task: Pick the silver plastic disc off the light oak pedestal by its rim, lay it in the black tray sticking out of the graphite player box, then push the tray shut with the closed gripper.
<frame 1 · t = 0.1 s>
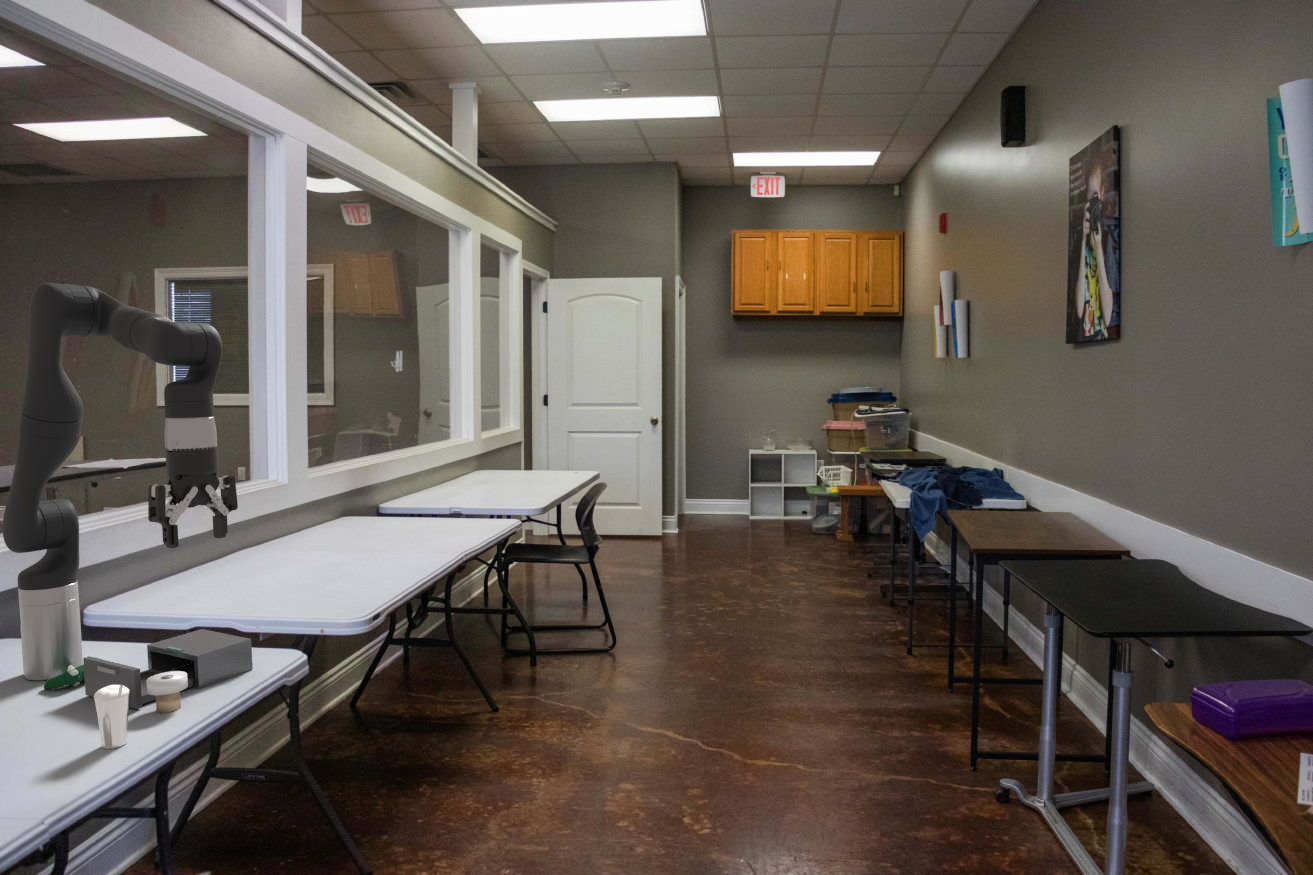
hand: (196, 542, 139), 29 cm above the table, fingers open, 8 cm apart
pedestal: (168, 708, 143), on the table
disc: (167, 688, 143), point 3 cm above the table, touching pedestal
milkshake: (116, 746, 129), on the table
green toy: (77, 684, 156), on the table
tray: (139, 673, 150), point 4 cm above the table, slide at 10.0 cm
player: (199, 673, 160), on the table
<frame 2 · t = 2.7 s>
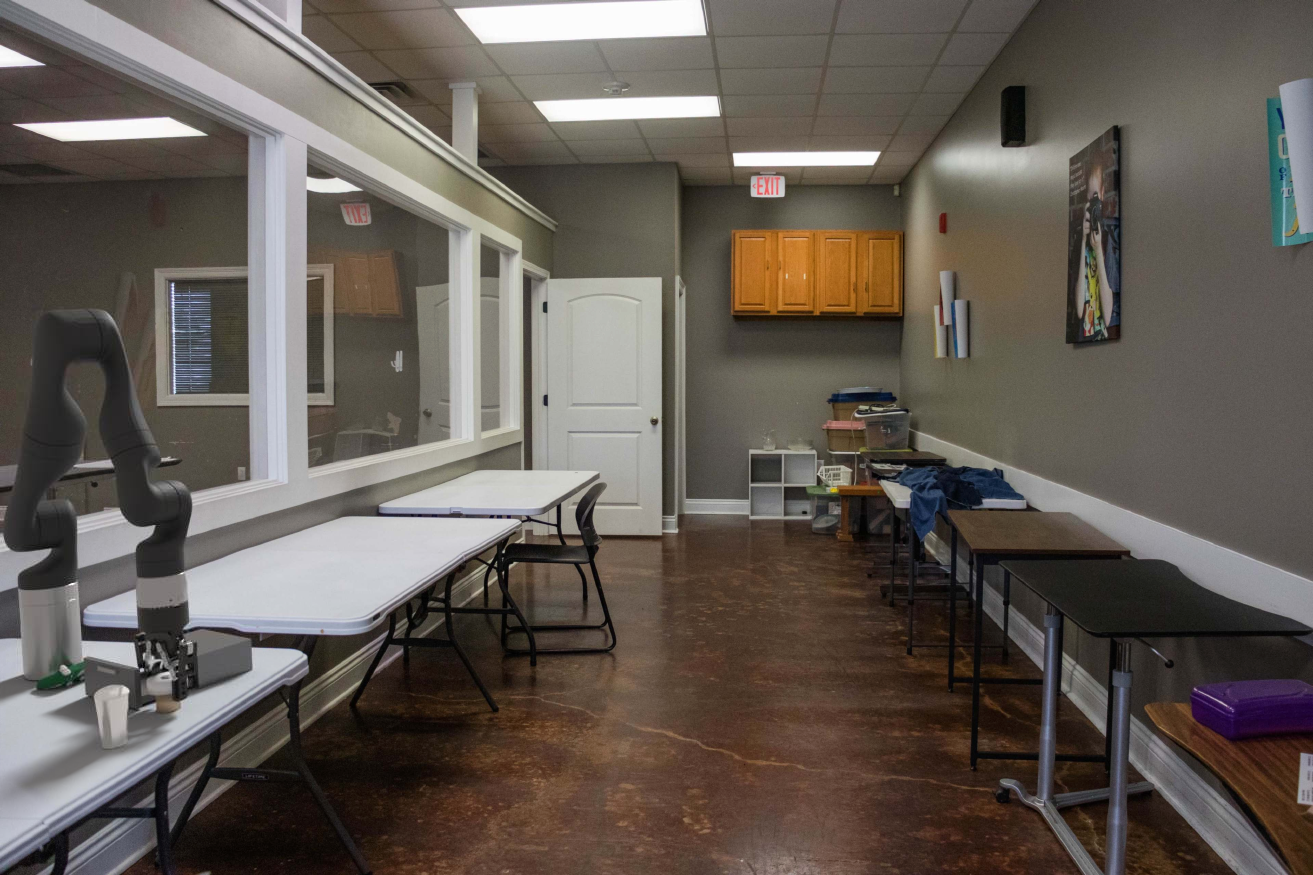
hand: (168, 696, 143), 2 cm above the table, fingers closed on disc, 6 cm apart
disc: (167, 688, 143), point 4 cm above the table, touching gripper, pedestal
green toy: (70, 684, 156), on the table
everything else where it was.
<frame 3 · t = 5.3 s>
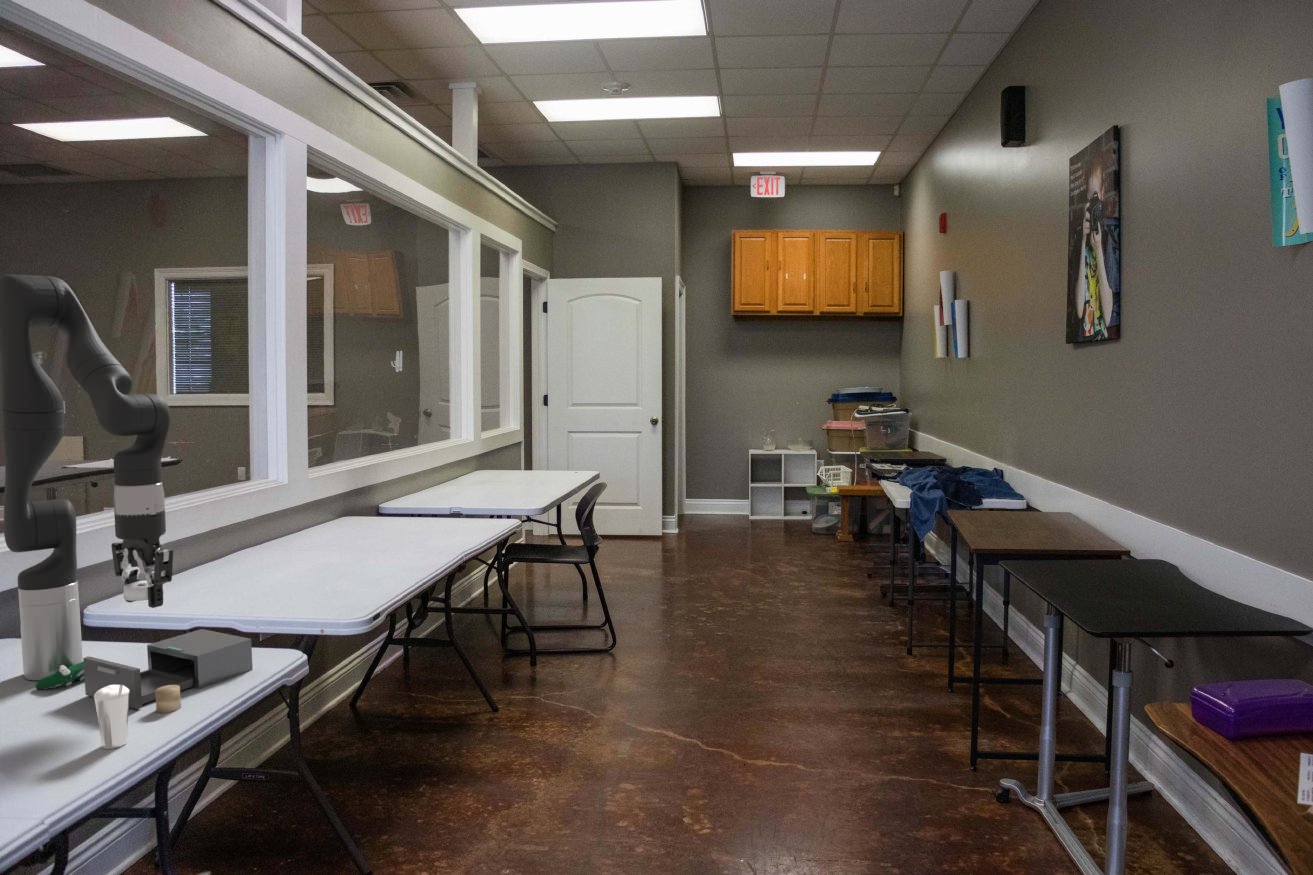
hand: (144, 603, 147), 17 cm above the table, fingers closed on disc, 6 cm apart
disc: (144, 595, 147), point 18 cm above the table, touching gripper
everything else where it was.
when the fingers open (1 cm above the table, at t = 8.1 s): disc drops 2 cm, resting on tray.
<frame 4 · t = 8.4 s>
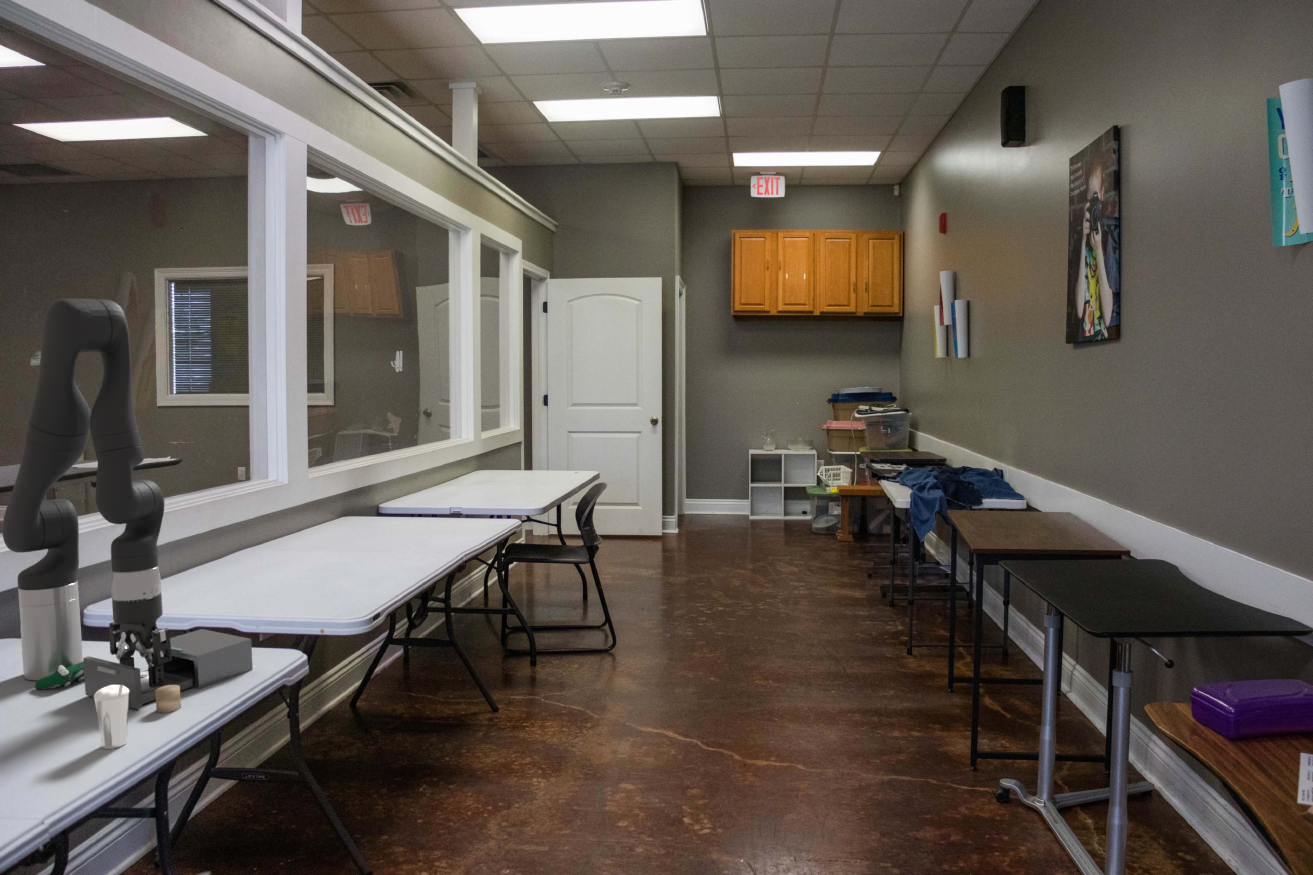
hand: (142, 682, 151), 2 cm above the table, fingers open, 8 cm apart
disc: (142, 687, 151), point 1 cm above the table, touching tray
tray: (139, 673, 150), point 4 cm above the table, slide at 10.0 cm, touching disc
everything else where it was.
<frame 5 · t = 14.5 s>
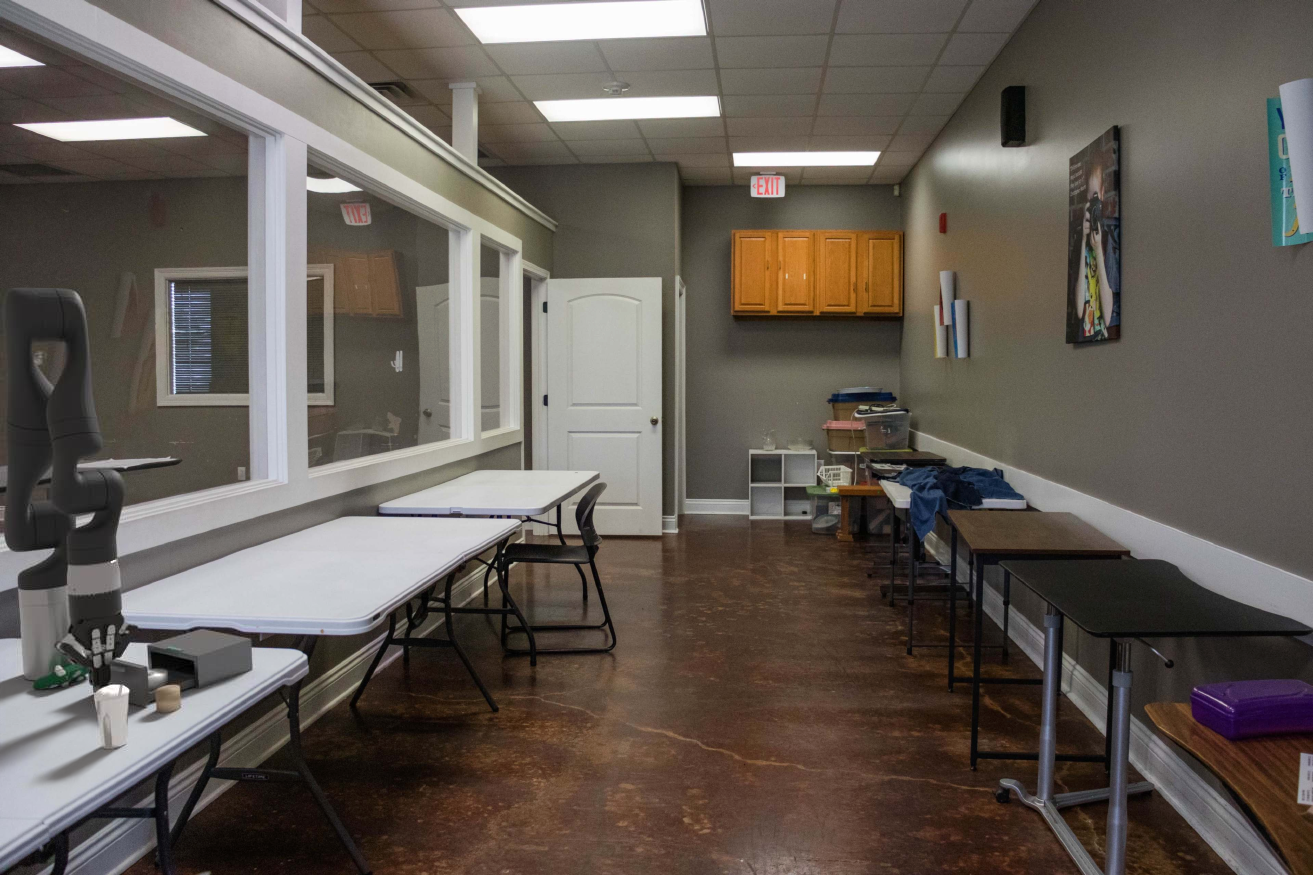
hand: (100, 686, 144), 3 cm above the table, fingers closed
disc: (149, 685, 152), point 1 cm above the table, touching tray
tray: (146, 670, 151), point 4 cm above the table, slide at 8.7 cm, touching disc, gripper
everything else where it was.
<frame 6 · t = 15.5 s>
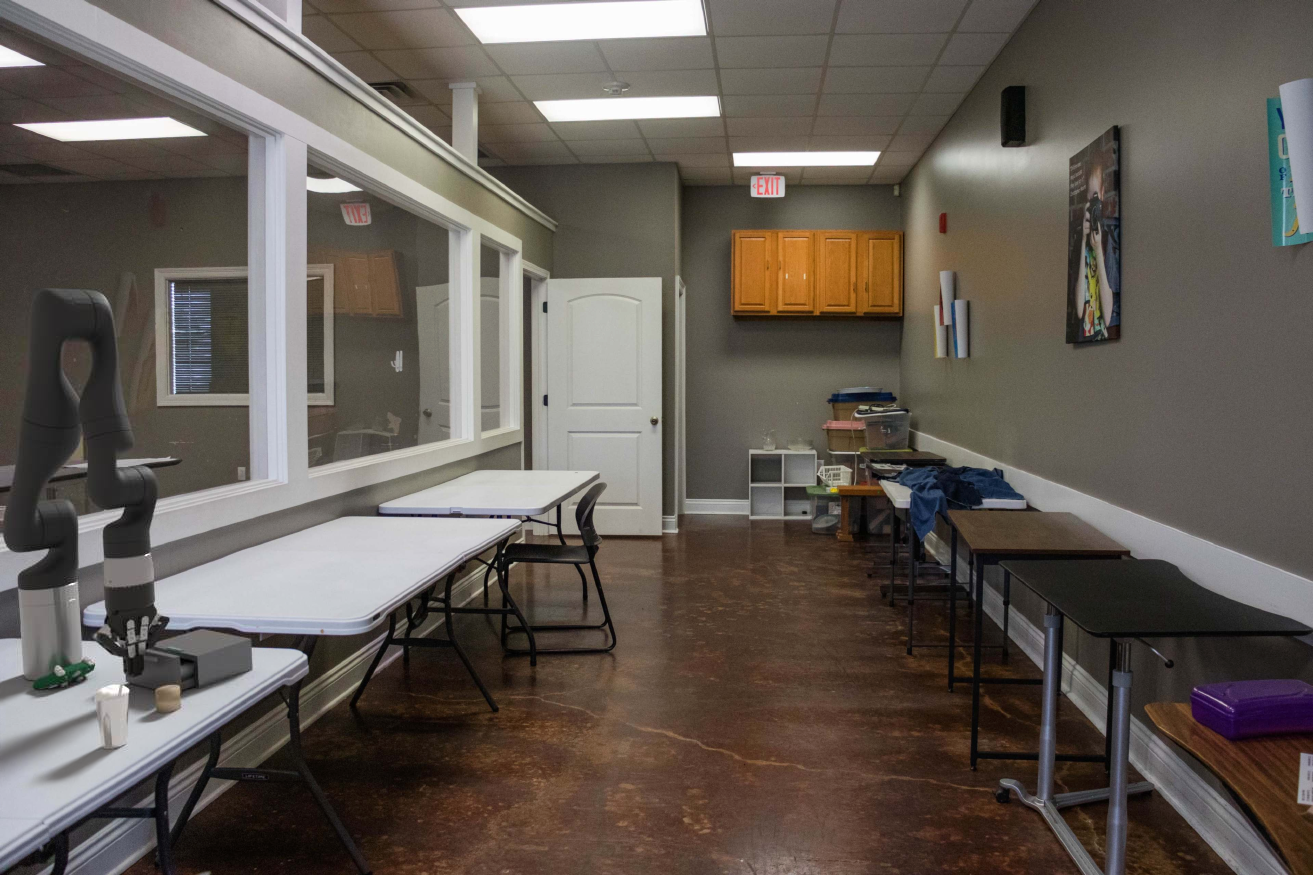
hand: (134, 675, 149), 3 cm above the table, fingers closed
disc: (179, 674, 157), point 1 cm above the table, touching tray
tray: (177, 661, 156), point 4 cm above the table, slide at 2.9 cm, touching disc, gripper
everything else where it was.
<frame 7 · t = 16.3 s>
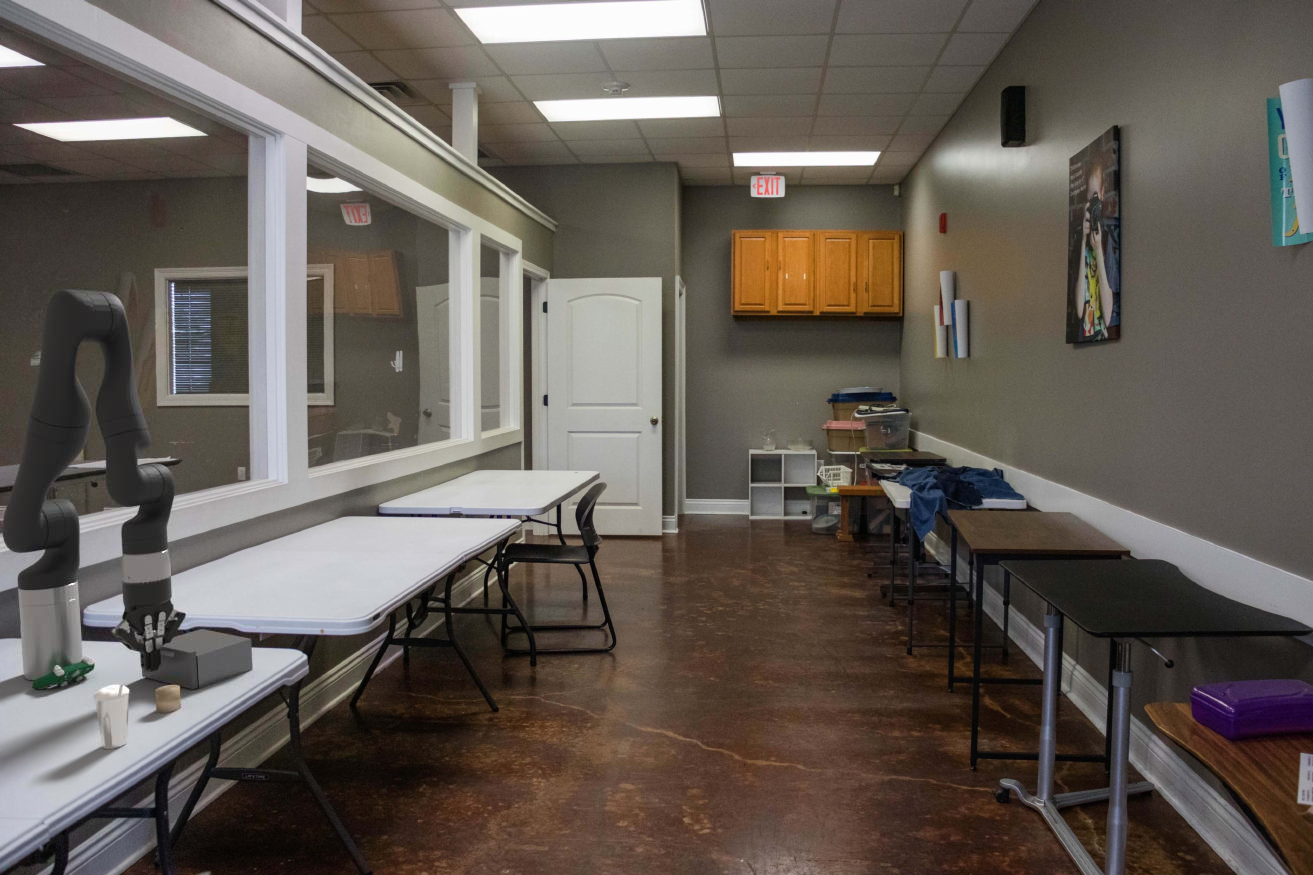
hand: (151, 670, 152), 3 cm above the table, fingers closed
disc: (194, 669, 160), point 1 cm above the table, touching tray
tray: (193, 656, 159), point 4 cm above the table, slide at -0.1 cm, touching disc, gripper
everything else where it was.
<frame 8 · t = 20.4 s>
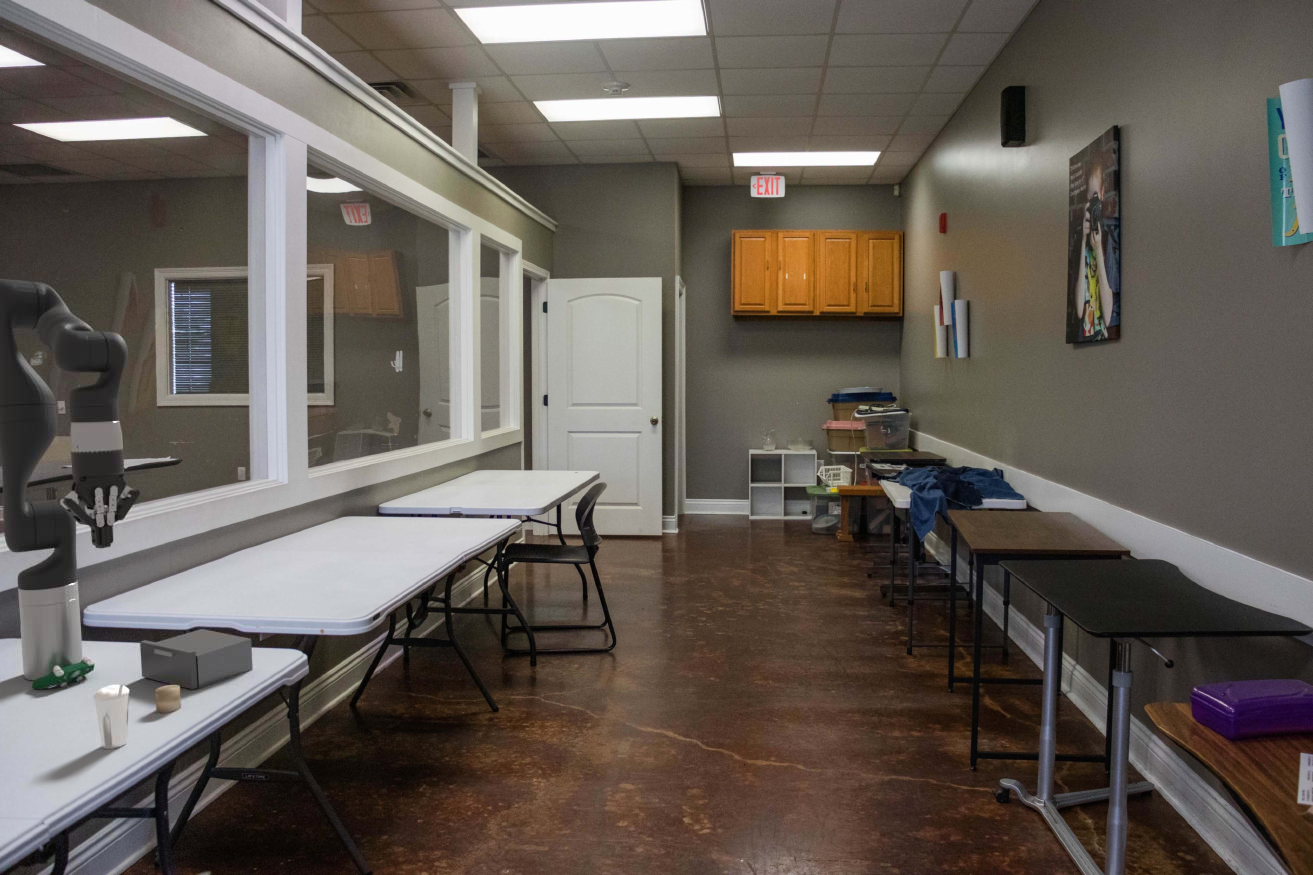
hand: (103, 547, 146), 27 cm above the table, fingers closed
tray: (192, 656, 159), point 4 cm above the table, slide at 0.0 cm, touching disc
everything else where it was.
at the end: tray slide at 0.0 cm; disc inside the target area on the player (0.7 cm from its centre), point 0.9 cm above the player's base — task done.
